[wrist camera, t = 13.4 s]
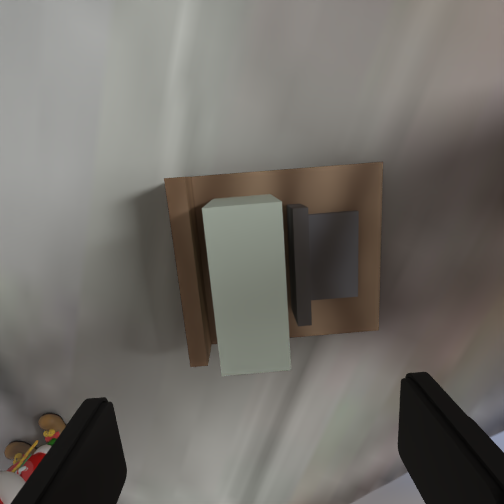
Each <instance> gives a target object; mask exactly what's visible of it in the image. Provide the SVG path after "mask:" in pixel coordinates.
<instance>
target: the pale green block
mask: <svg viewBox="0 0 504 504" xmlns="http://www.w3.org/2000/svg"><path fill="white" fill-rule="evenodd" d="M202 214H203V223H204V231H205V240H206V248H207V257H208V265H209V274H210V282H211V291H212V299H213V308H214V316H215V325H216V333H217V342H218V350H219V359H220V367H221V375H222V376H232V375H243V374H254V373H265V372H276V371H288V370H291V357H290V339H289V321H288V303H287V285H286V267H285V249H284V231H283V213H282V201H280V200H279V199H277V198H276V197H274V196H273V195H271V194H265V195H253V196H241V197H229V198H217V199H212V200H211V201H210V202H209V203H208V204H206V205H205V206H204V207H203V208H202Z"/></svg>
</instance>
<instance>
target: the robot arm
mask: <svg viewBox="0 0 504 504" xmlns="http://www.w3.org/2000/svg"><path fill="white" fill-rule="evenodd" d="M398 451H399V455H400V457H401V459H402V461H403V463H404V465H405V467H406V469H407V471H408V472H409V474H410V476H411V478H412V479H413V481H414V483H415V485H416V487H417V489H418V490H419V492H420V494H421V496H422V498H423V500H424V502H425V503H426V504H504V453H503V452H502V450H501V449H500V448H499V447H498V446H497V445H496V444H495V443H494V442H493V441H492V440H491V438H490V437H489V436H488V435H487V434H486V433H485V432H484V431H483V430H482V429H481V428H480V427H479V426H478V424H477V423H476V422H475V421H474V420H473V419H471V418H470V417H469V416H467V415H466V414H465V413H464V412H463V410H462V409H461V408H460V407H459V406H458V405H457V404H456V403H455V402H454V401H453V400H452V398H451V397H450V396H449V395H448V394H447V393H446V392H445V391H444V390H443V389H442V388H441V387H440V385H439V384H438V383H437V382H436V381H435V380H434V379H433V378H432V377H431V376H430V375H429V374H428V373H427V372H417V373H408V374H407V375H406V378H403V379H402V380H401V390H400V411H399V431H398ZM126 474H127V467H126V462H125V458H124V453H123V449H122V444H121V439H120V435H119V430H118V426H117V421H116V417H115V412H114V407H113V404H112V402H108V400H107V399H106V398H104V397H103V398H90V399H86V400H85V401H84V402H83V403H82V404H81V406H80V407H79V408H78V410H77V411H76V413H75V414H74V415H73V417H72V418H71V420H70V421H69V423H68V424H67V425H66V427H65V428H64V430H63V431H62V432H61V434H60V435H59V437H58V438H57V439H56V441H55V442H54V444H53V445H52V446H51V448H50V449H49V451H48V452H47V453H46V455H45V456H44V457H43V459H42V460H41V461H40V463H39V464H38V466H37V467H36V468H35V470H34V471H33V473H32V474H31V475H30V477H29V478H28V480H27V481H26V482H25V484H24V485H23V487H22V488H21V489H20V491H19V492H18V494H17V495H16V497H15V498H14V499H13V501H12V502H11V504H116V503H117V501H118V498H119V496H120V493H121V491H122V488H123V485H124V483H125V480H126Z"/></svg>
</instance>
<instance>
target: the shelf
mask: <svg viewBox="0 0 504 504" xmlns="http://www.w3.org/2000/svg"><path fill="white" fill-rule="evenodd" d="M382 180H383V162H375V163H362V164H349V165H336V166H323V167H310V168H297V169H285V170H272V171H259V172H246V173H233V174H220V175H207V176H195V177H177V178H164V181H165V188H166V195H167V202H168V210H169V217H170V224H171V231H172V238H173V245H174V252H175V260H176V267H177V274H178V281H179V288H180V295H181V302H182V309H183V317H184V324H185V331H186V338H187V345H188V352H189V359H190V366H191V367H197V366H208V362H209V356H210V351H211V345H212V344H218V342H217V333H216V325H215V316H214V308H213V299H212V291H211V282H210V274H209V265H208V257H207V248H206V240H205V231H204V223H203V214H202V208H203V207H204V206H205V205H206V204H208V203H209V202H210V201H211V200H212V199H217V198H229V197H241V196H253V195H265V194H271V195H273V196H274V197H276V198H277V199H279V200H280V201H282V213H283V231H284V249H285V267H286V285H287V303H288V321H289V338H292V337H304V336H316V335H328V334H339V333H351V332H363V331H375V330H379V296H380V257H381V218H382Z"/></svg>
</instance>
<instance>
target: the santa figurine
mask: <svg viewBox="0 0 504 504" xmlns="http://www.w3.org/2000/svg"><path fill="white" fill-rule="evenodd" d="M38 423H39V426H40V427H41V428H42V429H43V430H45V431H44V433H43V436H44V437H45V441H46V442H49V443H48V444H47V445H42V446H40V447H39V448H38V449H37V448H35V446H36V445H37V443H38V440H36V441H35V443H34V444H33V445H30V444H28V443H26V442H22V441H14V442H11V443H10V444H9V445H8V446H7V447H6V449H5V452H4V454H5V457H6V458H8V459H14V461H13V464H14V465H12V466H11V467H10V468H9V469H8V470H7V471H0V504H11V502H12V501H13V499H14V498H15V497H16V495H17V494H18V492H19V491H20V489H21V488H22V487H23V485H24V484H25V482H26V481H27V480H28V478H29V477H30V475H31V474H32V473H33V471H34V470H35V468H36V467H37V466H38V464H39V463H40V461H41V460H42V459H43V457H44V456H45V455H46V453H47V452H48V451H49V449H50V448H51V446H52V445H53V444H54V442H55V441H56V439H57V438H58V437H59V435H60V434H61V432H62V431H63V430H64V428H65V427H66V424H65V422H64V421H63V419H62V418H61V417H60V416H59V415H57V414H53V413H47V414H44V415H42V416H41V418H40V419H39V422H38Z"/></svg>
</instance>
